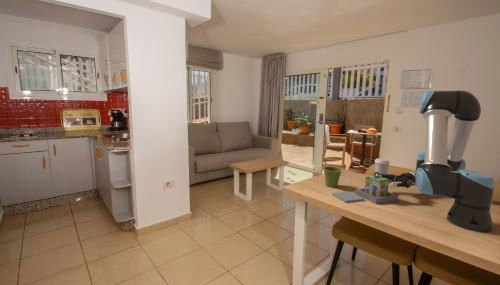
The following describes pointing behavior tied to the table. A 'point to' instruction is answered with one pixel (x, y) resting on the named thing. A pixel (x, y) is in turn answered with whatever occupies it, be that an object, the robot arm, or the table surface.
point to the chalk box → (376, 185)
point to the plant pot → (332, 176)
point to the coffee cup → (381, 165)
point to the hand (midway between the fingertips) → (381, 181)
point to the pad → (347, 196)
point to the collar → (374, 199)
